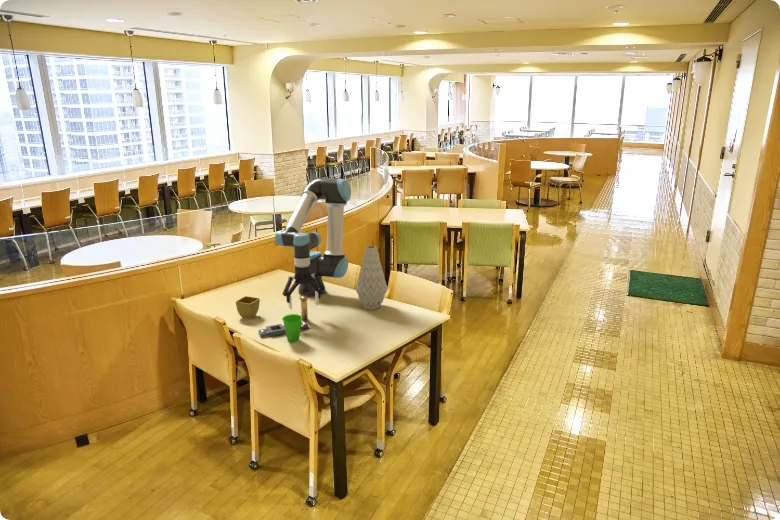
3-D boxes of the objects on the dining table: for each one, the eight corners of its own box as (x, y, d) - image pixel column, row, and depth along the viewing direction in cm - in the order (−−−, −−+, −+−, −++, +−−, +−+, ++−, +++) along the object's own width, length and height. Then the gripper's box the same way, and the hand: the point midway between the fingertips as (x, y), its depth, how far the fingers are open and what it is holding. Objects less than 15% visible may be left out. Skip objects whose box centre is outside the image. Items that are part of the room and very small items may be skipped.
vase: (351, 310, 275) (350, 249, 266) (361, 299, 291) (360, 241, 281) (382, 314, 271) (382, 252, 262) (390, 302, 286) (391, 244, 277)
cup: (284, 336, 245) (283, 314, 242) (304, 335, 246) (303, 313, 243) (282, 344, 237) (280, 322, 233) (302, 344, 237) (301, 321, 234)
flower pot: (261, 314, 270) (260, 297, 267) (251, 320, 262) (250, 303, 259) (246, 312, 273) (245, 295, 270) (236, 318, 265) (235, 301, 262)
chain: (305, 323, 259) (305, 319, 258) (310, 329, 253) (310, 324, 252) (257, 332, 249) (257, 328, 248) (261, 338, 243) (261, 333, 242)
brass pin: (307, 317, 267) (306, 294, 263) (310, 320, 263) (309, 297, 260) (299, 318, 265) (298, 296, 262) (301, 321, 261) (300, 299, 258)
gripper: (324, 260, 265) (325, 300, 270) (274, 266, 254) (276, 307, 259) (329, 264, 258) (330, 305, 264) (279, 270, 247) (281, 313, 253)
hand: (303, 306), depth 262 cm, fingers open, 13 cm apart
